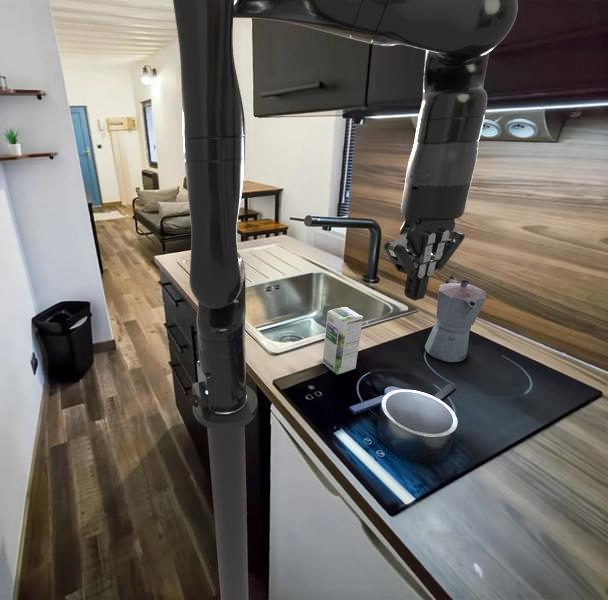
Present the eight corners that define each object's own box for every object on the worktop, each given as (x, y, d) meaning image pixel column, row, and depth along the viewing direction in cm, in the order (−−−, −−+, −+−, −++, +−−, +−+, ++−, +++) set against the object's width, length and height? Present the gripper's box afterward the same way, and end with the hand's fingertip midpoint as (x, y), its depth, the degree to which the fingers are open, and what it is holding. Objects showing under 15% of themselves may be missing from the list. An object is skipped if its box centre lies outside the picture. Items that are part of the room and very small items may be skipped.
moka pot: (435, 369, 85) (455, 291, 77) (411, 335, 99) (426, 266, 90) (480, 370, 84) (505, 291, 75) (449, 335, 97) (468, 265, 89)
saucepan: (427, 474, 60) (435, 447, 58) (363, 431, 69) (367, 406, 67) (480, 424, 69) (488, 399, 67) (417, 391, 79) (423, 368, 76)
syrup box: (321, 362, 90) (325, 310, 84) (340, 356, 92) (346, 305, 86) (336, 375, 85) (342, 321, 79) (356, 368, 87) (364, 315, 81)
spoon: (359, 419, 72) (359, 415, 72) (344, 405, 76) (344, 401, 76) (411, 400, 76) (412, 396, 76) (395, 387, 80) (396, 384, 80)
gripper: (448, 172, 53) (425, 281, 60) (376, 181, 49) (361, 297, 57) (502, 176, 47) (468, 298, 54) (424, 187, 43) (399, 317, 50)
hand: (413, 297), depth 55 cm, fingers closed
